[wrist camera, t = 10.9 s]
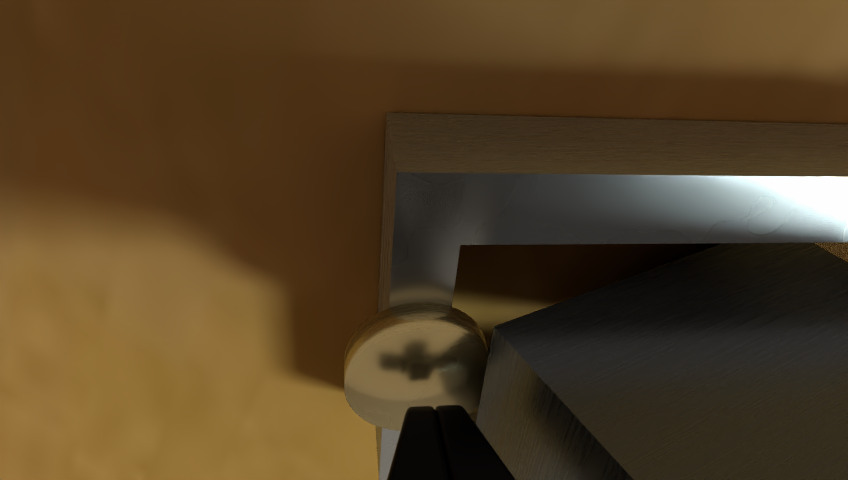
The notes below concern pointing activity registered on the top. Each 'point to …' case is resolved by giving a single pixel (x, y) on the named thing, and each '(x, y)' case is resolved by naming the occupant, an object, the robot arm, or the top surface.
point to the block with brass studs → (681, 373)
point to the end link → (561, 222)
